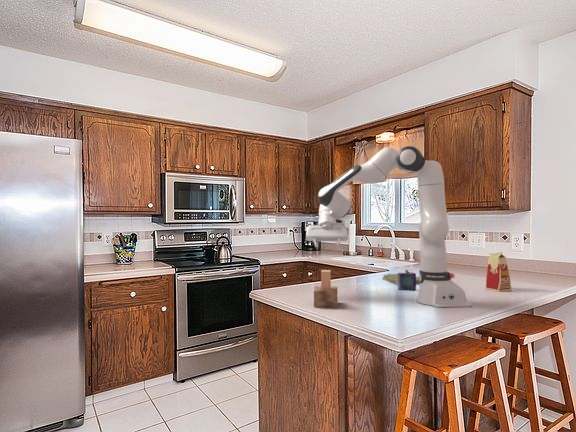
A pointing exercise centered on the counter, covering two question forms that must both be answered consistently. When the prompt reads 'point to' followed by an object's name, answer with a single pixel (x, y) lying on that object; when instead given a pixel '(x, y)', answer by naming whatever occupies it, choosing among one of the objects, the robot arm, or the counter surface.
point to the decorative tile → (395, 278)
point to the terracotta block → (326, 280)
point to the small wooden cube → (325, 297)
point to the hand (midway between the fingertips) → (326, 246)
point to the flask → (407, 281)
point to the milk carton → (498, 273)
